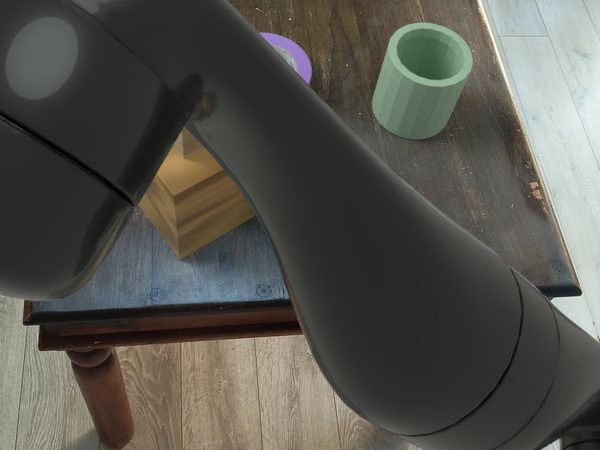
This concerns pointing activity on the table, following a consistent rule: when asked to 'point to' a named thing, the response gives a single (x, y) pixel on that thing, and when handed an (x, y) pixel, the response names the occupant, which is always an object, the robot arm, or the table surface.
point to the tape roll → (291, 54)
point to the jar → (421, 80)
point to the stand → (193, 202)
